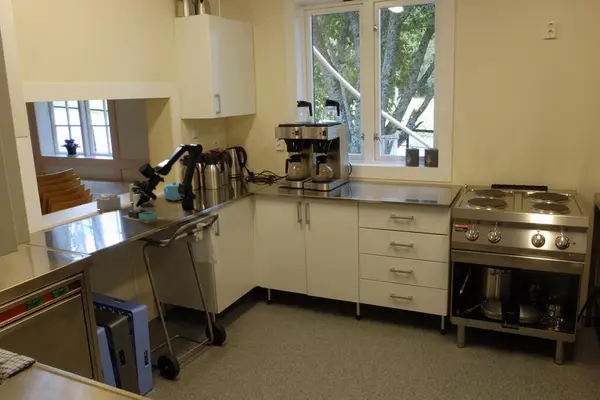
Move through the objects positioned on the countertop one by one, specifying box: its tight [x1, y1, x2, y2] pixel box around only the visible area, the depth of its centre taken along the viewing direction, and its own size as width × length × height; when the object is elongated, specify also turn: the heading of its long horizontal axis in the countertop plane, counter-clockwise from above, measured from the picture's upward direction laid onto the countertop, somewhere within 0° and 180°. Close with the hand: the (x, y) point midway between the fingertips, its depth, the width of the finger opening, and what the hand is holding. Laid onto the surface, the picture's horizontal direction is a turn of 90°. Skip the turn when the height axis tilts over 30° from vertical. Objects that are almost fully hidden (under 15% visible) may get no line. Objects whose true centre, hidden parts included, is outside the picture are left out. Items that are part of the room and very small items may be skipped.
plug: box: [132, 194, 142, 212], centre depth 280 cm, size 4×4×12 cm
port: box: [139, 210, 158, 221], centre depth 276 cm, size 7×7×3 cm
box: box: [128, 182, 150, 205], centre depth 317 cm, size 10×6×12 cm, turn 74°
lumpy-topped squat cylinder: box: [96, 193, 122, 212], centre depth 301 cm, size 10×13×9 cm
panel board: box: [120, 209, 165, 224], centre depth 279 cm, size 22×12×4 cm, turn 54°
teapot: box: [163, 181, 183, 202], centre depth 330 cm, size 12×18×12 cm
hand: (134, 205), depth 279 cm, fingers closed on plug, 4 cm apart
